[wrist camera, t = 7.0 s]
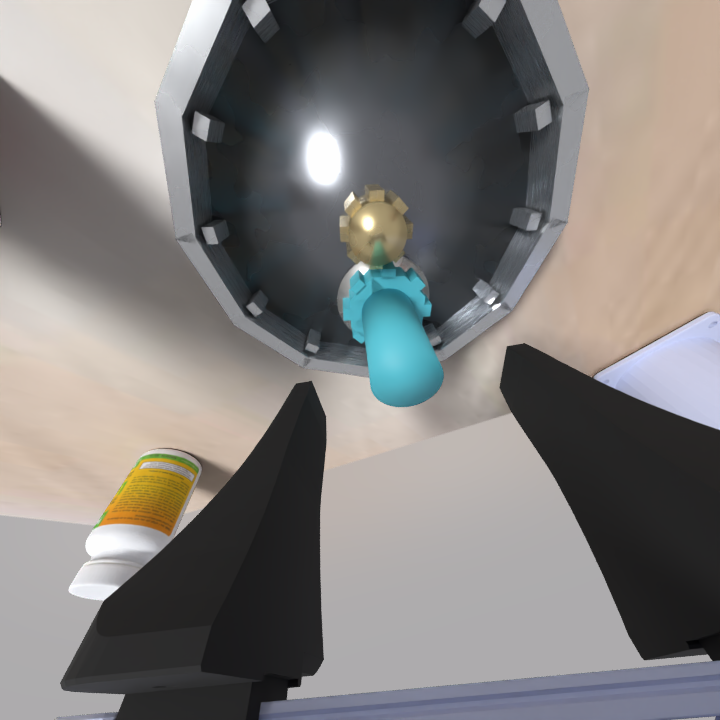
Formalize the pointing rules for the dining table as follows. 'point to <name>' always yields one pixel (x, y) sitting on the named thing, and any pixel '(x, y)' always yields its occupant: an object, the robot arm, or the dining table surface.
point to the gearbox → (369, 159)
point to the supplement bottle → (137, 521)
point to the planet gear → (394, 334)
